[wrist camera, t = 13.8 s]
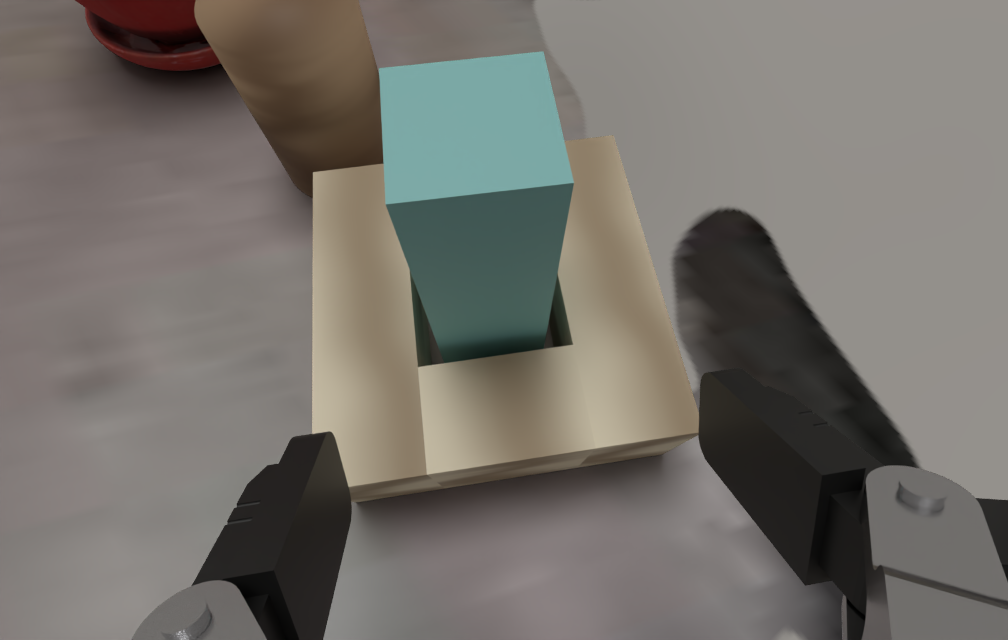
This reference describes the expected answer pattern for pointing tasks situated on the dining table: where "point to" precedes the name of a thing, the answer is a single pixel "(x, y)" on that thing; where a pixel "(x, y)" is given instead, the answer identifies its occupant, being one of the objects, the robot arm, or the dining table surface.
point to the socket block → (498, 379)
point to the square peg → (478, 197)
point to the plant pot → (151, 32)
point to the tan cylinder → (302, 78)
